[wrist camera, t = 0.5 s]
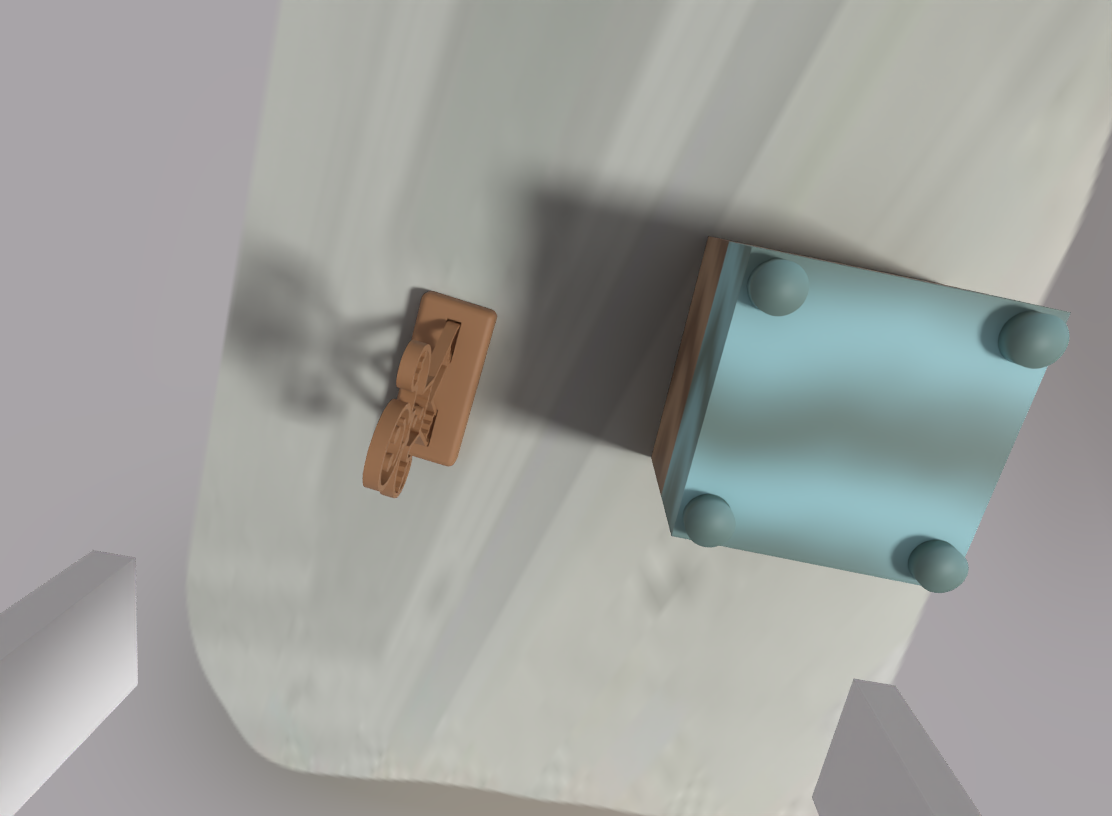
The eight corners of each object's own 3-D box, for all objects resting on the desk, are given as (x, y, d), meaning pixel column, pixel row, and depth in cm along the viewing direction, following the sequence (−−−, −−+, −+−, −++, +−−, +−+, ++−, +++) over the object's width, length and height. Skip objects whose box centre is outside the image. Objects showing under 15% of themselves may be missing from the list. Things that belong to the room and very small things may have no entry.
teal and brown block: (708, 236, 33) (757, 247, 23) (943, 284, 33) (1086, 316, 23) (651, 457, 36) (674, 545, 27) (863, 500, 36) (960, 602, 27)
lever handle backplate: (455, 463, 37) (397, 579, 25) (388, 442, 37) (298, 550, 25) (498, 311, 34) (454, 364, 23) (426, 289, 34) (346, 331, 23)
